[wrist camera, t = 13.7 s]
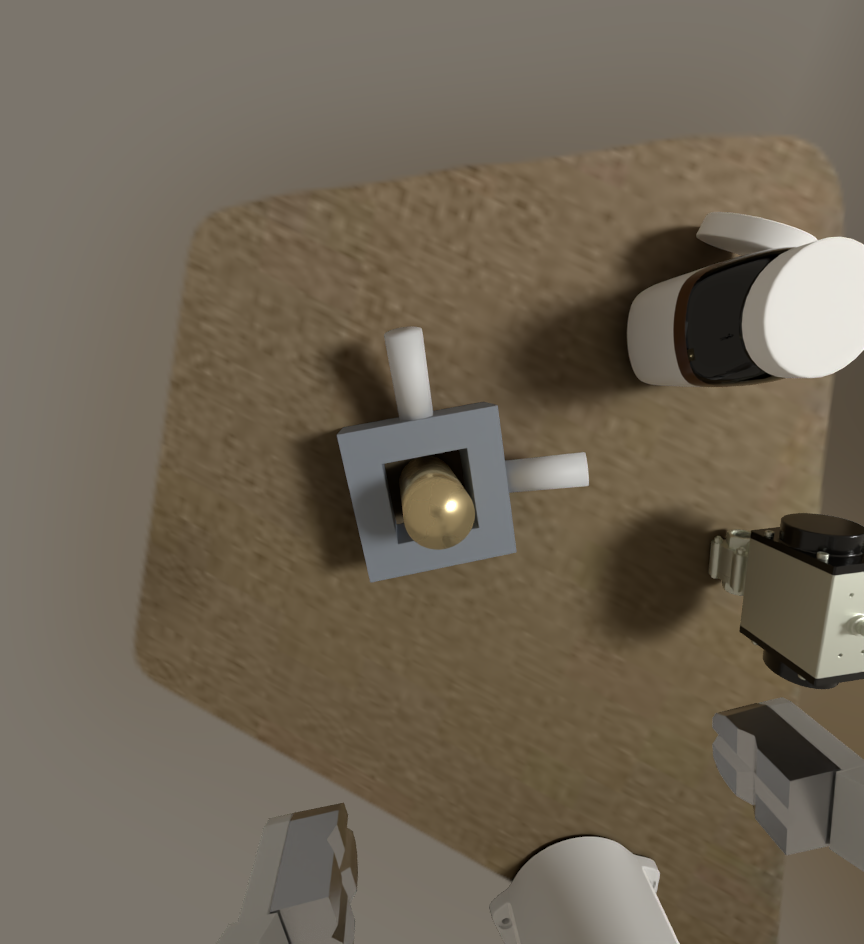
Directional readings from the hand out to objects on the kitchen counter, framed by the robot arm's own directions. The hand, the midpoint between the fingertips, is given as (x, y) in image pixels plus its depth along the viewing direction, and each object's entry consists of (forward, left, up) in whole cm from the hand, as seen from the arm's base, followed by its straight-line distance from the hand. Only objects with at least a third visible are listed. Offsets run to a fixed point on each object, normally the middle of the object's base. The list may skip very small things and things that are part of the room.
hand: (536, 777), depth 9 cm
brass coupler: (0, 0, -25) cm, 25 cm away
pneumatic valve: (-12, -26, -25) cm, 38 cm away
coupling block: (+3, -3, -25) cm, 25 cm away
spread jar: (+10, -22, -25) cm, 35 cm away
